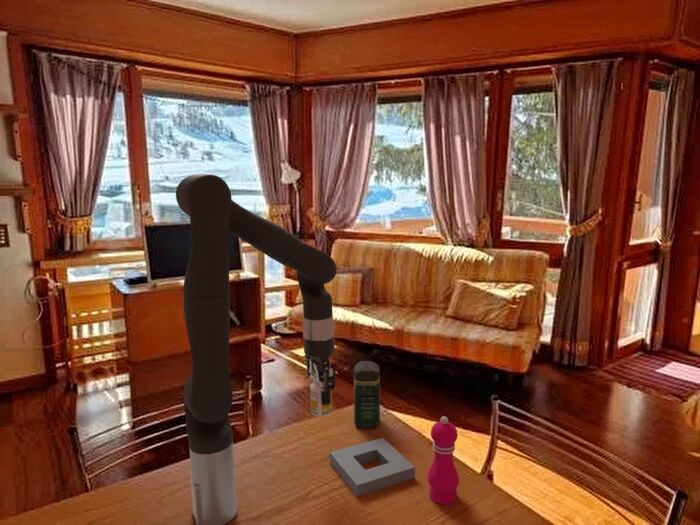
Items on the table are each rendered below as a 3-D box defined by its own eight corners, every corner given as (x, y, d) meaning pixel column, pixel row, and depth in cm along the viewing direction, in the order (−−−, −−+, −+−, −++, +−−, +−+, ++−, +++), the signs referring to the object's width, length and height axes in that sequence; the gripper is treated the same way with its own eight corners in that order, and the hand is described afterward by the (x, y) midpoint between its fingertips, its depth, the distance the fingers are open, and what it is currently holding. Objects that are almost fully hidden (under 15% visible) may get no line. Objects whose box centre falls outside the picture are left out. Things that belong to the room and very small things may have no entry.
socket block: (357, 496, 119) (357, 485, 119) (329, 462, 134) (329, 452, 133) (414, 478, 126) (414, 467, 126) (382, 447, 140) (382, 437, 140)
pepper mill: (435, 508, 115) (436, 426, 111) (422, 489, 122) (423, 411, 118) (464, 502, 117) (466, 421, 113) (450, 484, 123) (451, 407, 120)
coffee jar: (380, 429, 150) (380, 370, 147) (354, 430, 150) (353, 370, 147) (379, 414, 160) (379, 358, 156) (354, 414, 160) (353, 358, 157)
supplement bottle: (333, 407, 129) (332, 371, 127) (331, 417, 124) (329, 380, 122) (312, 407, 130) (311, 371, 128) (309, 417, 124) (307, 379, 123)
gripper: (294, 328, 128) (297, 391, 131) (315, 345, 115) (318, 414, 118) (321, 324, 131) (323, 385, 134) (345, 340, 118) (347, 407, 121)
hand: (321, 399), depth 126 cm, fingers closed on supplement bottle, 5 cm apart
